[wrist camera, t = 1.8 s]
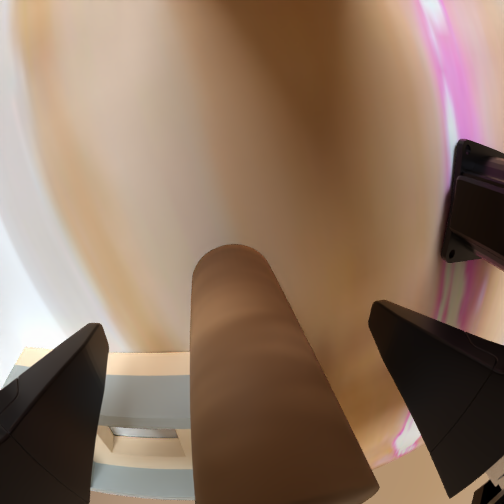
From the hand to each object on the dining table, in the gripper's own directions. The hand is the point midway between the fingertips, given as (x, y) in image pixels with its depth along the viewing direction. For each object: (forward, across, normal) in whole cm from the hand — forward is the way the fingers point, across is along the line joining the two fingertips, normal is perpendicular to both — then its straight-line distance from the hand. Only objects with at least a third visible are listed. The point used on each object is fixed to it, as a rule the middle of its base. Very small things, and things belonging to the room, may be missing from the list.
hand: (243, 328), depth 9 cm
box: (+3, +6, +9) cm, 11 cm away
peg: (+3, 0, 0) cm, 3 cm away
